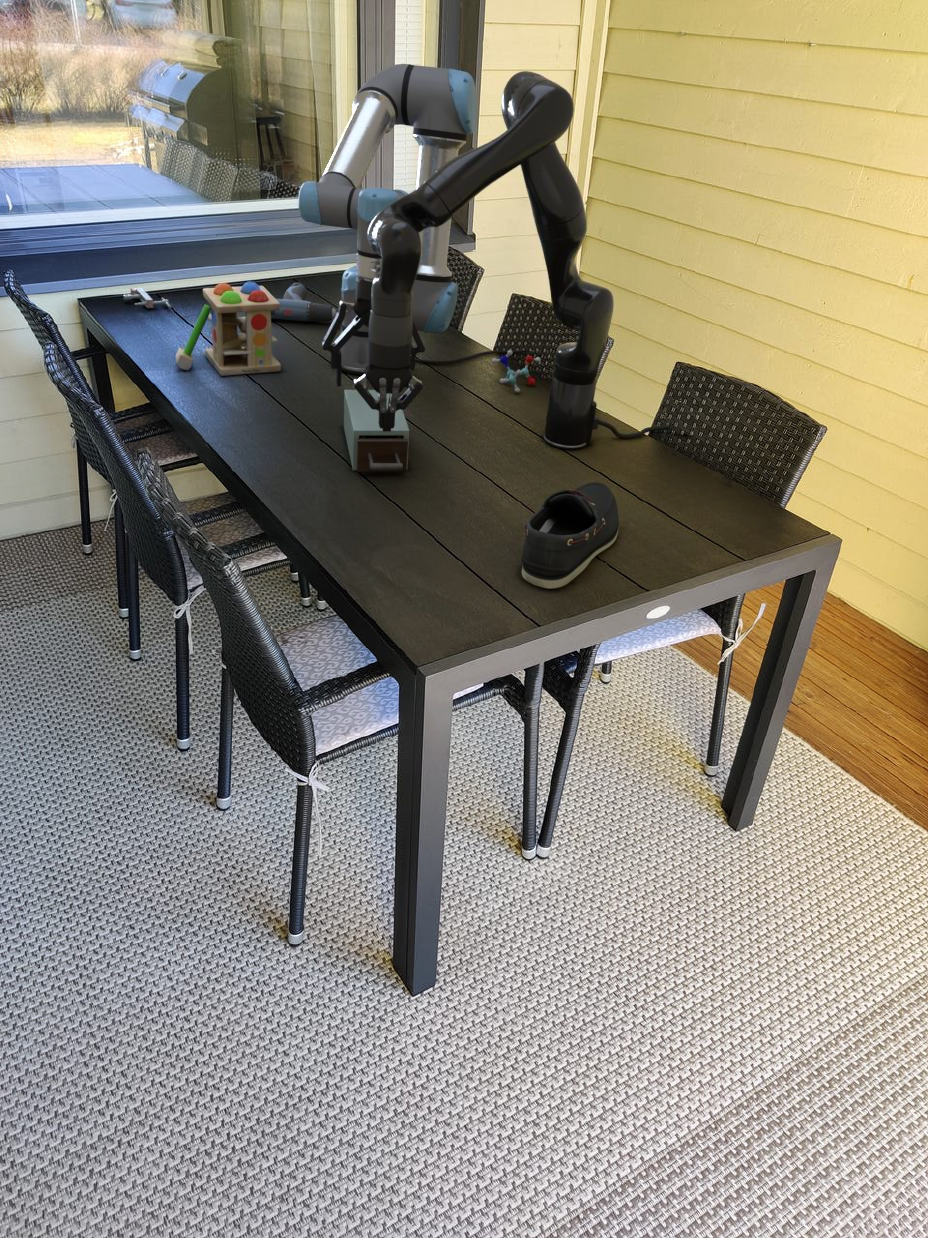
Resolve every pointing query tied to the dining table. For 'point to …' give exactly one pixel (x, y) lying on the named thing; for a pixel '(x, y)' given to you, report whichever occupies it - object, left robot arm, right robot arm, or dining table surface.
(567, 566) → the boat shoe
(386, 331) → the right robot arm
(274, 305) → the pounding bench toy
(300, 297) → the power drill
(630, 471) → the dining table surface
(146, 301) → the clamp
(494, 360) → the molecular model
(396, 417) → the cabinet
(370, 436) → the drawer
